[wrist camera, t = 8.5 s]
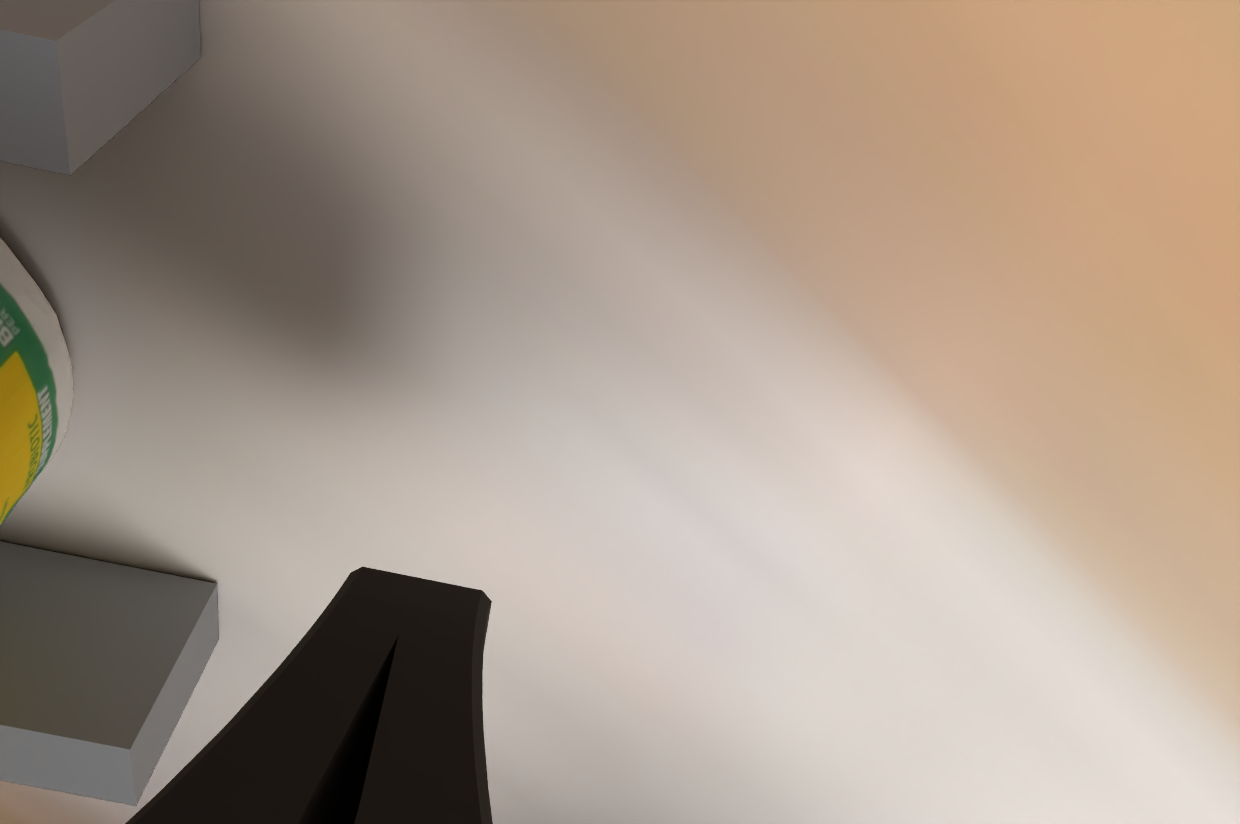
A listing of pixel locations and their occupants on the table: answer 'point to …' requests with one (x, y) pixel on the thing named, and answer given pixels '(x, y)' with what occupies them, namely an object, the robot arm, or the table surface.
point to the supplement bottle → (29, 381)
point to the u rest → (65, 584)
